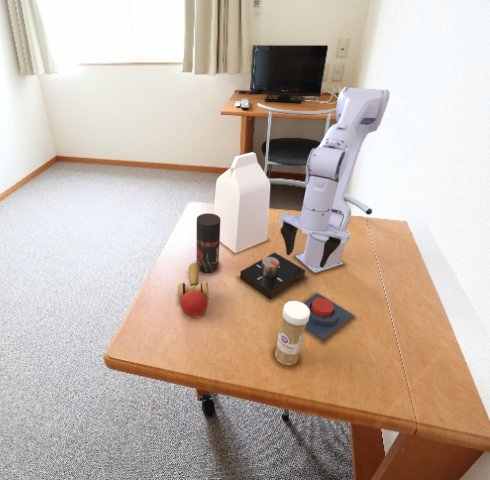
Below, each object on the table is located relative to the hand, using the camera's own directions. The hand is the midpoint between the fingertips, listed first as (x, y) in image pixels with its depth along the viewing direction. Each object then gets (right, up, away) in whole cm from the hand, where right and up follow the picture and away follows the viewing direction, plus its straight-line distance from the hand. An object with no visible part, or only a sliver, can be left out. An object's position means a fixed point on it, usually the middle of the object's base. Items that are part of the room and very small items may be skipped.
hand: (305, 258), depth 79 cm
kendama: (-25, -9, +7) cm, 28 cm away
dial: (-6, -4, +9) cm, 11 cm away
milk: (-10, +5, +27) cm, 29 cm away
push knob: (+3, -11, -2) cm, 12 cm away
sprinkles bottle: (-7, -19, -9) cm, 23 cm away
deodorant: (-21, -3, +16) cm, 26 cm away
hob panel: (-5, -6, +11) cm, 13 cm away
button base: (+3, -13, -1) cm, 13 cm away
